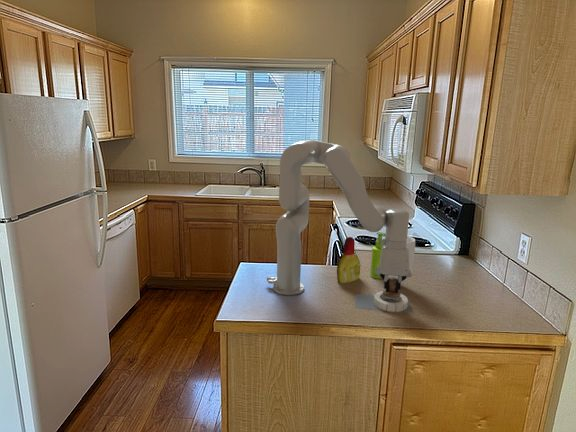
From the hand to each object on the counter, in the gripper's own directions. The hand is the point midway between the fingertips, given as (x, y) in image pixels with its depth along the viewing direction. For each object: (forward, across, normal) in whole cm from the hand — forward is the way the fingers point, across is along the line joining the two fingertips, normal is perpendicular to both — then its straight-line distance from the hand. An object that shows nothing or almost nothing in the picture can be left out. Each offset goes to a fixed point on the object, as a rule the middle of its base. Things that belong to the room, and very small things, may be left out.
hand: (391, 290), depth 148 cm
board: (+7, -3, 0) cm, 7 cm away
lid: (+1, 0, 0) cm, 1 cm away
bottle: (+7, -17, +19) cm, 26 cm away
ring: (+6, 0, 0) cm, 6 cm away
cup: (+7, +4, +17) cm, 19 cm away
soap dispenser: (+7, -4, +28) cm, 29 cm away
